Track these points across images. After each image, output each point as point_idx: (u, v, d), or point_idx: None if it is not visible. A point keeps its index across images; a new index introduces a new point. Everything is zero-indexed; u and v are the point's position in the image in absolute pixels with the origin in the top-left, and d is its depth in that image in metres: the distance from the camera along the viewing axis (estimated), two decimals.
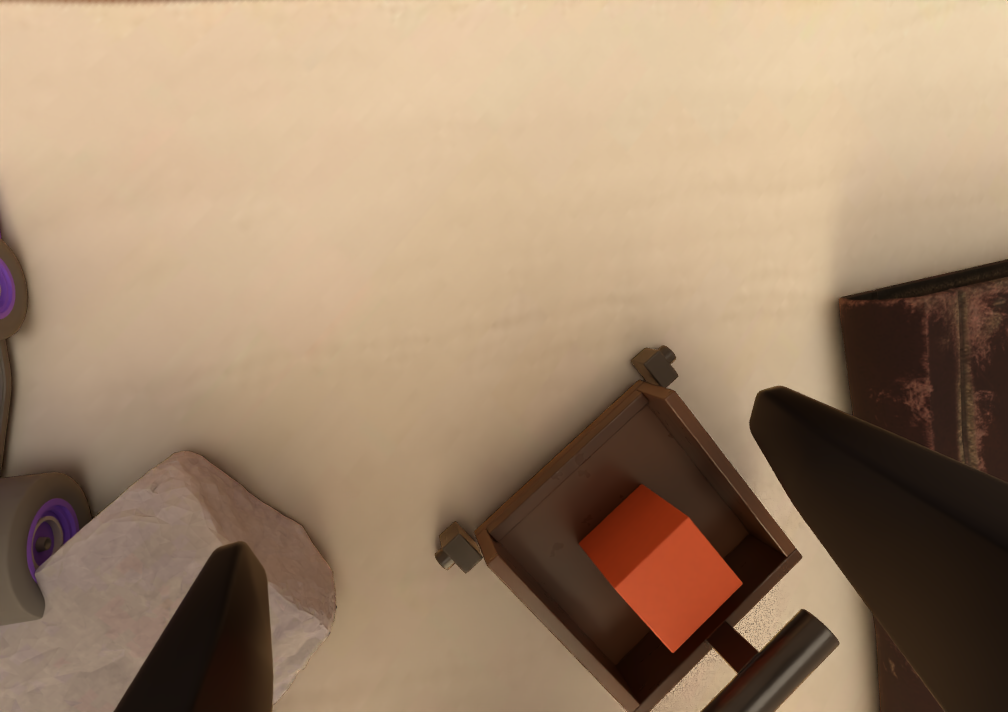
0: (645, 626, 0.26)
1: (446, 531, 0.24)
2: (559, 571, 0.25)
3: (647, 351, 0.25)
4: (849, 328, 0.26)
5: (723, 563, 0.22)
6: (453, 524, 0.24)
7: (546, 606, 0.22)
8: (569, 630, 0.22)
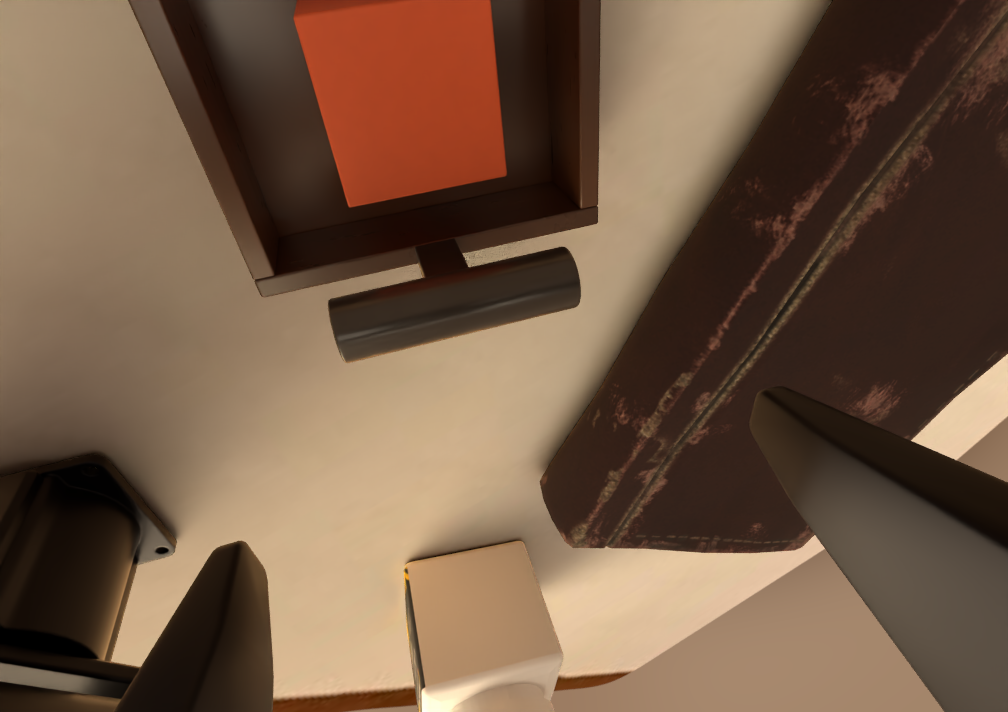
0: (348, 210, 0.17)
1: None
2: (241, 25, 0.14)
3: None
4: None
5: (497, 120, 0.13)
6: None
7: None
8: (193, 80, 0.12)
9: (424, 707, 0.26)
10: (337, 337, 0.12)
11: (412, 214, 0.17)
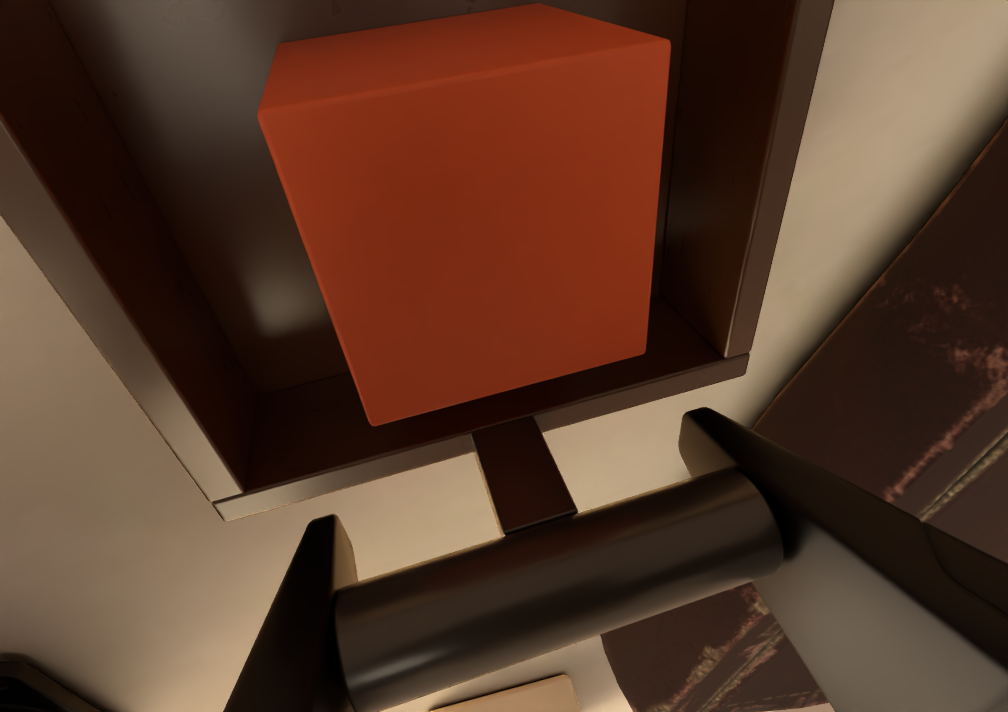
0: None
1: None
2: (179, 91, 0.08)
3: None
4: None
5: (646, 274, 0.07)
6: None
7: None
8: (68, 218, 0.06)
9: None
10: (352, 698, 0.07)
11: None
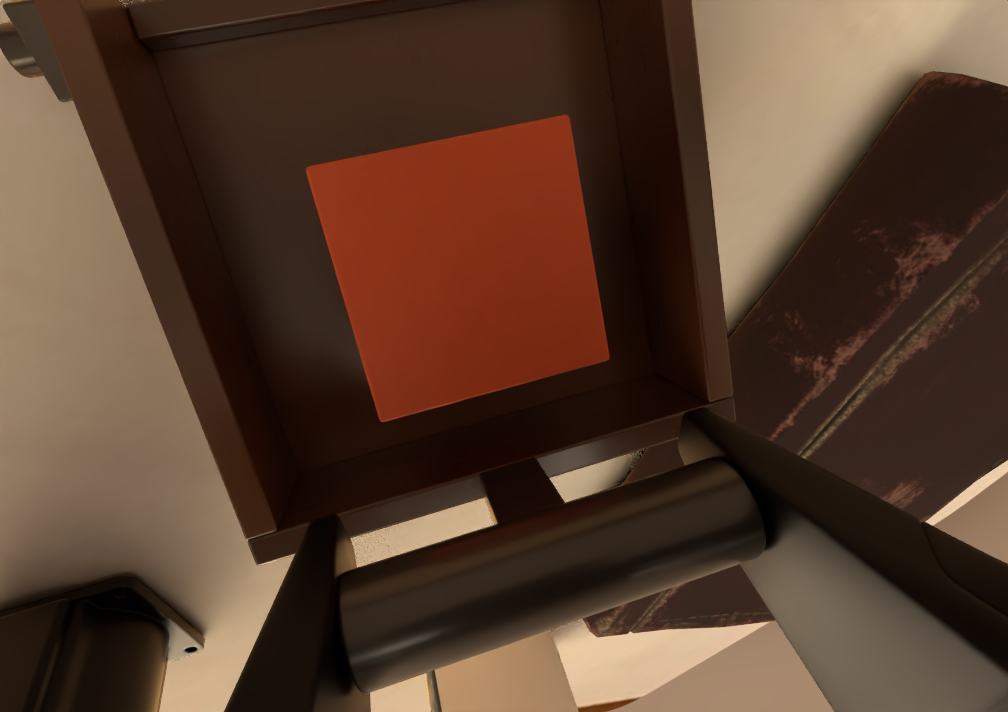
0: (390, 431, 0.13)
1: None
2: (265, 222, 0.11)
3: None
4: (910, 121, 0.16)
5: (591, 284, 0.09)
6: None
7: (145, 177, 0.09)
8: (181, 273, 0.09)
9: None
10: (347, 649, 0.07)
11: (474, 429, 0.13)
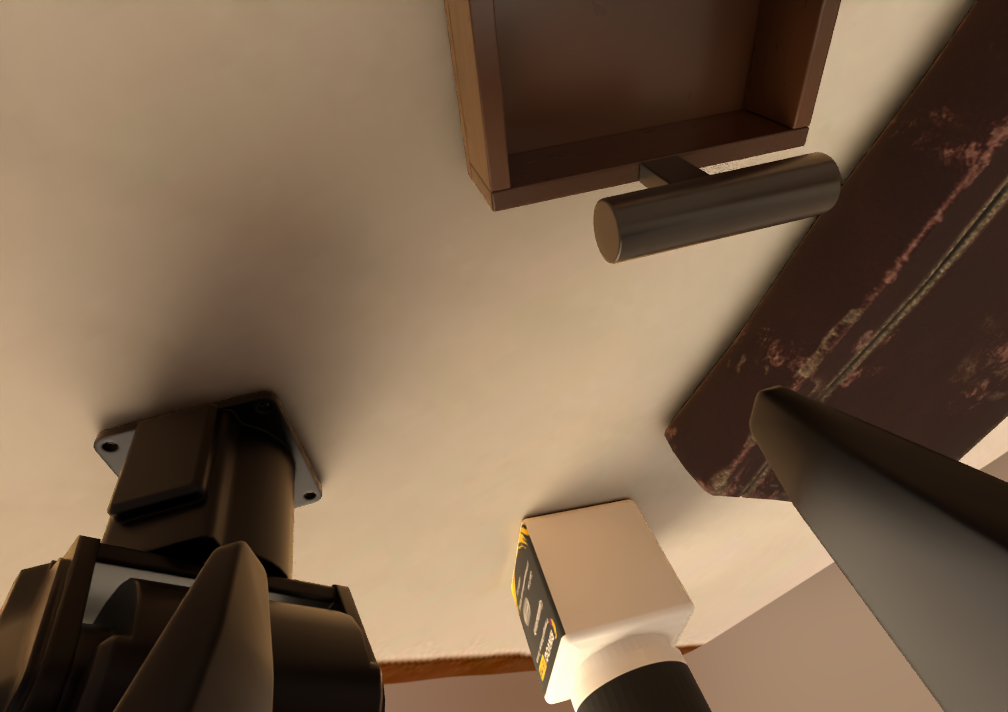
0: (555, 133, 0.17)
1: None
2: None
3: None
4: None
5: None
6: None
7: None
8: None
9: (560, 656, 0.26)
10: (622, 231, 0.13)
11: (615, 138, 0.17)
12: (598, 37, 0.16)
